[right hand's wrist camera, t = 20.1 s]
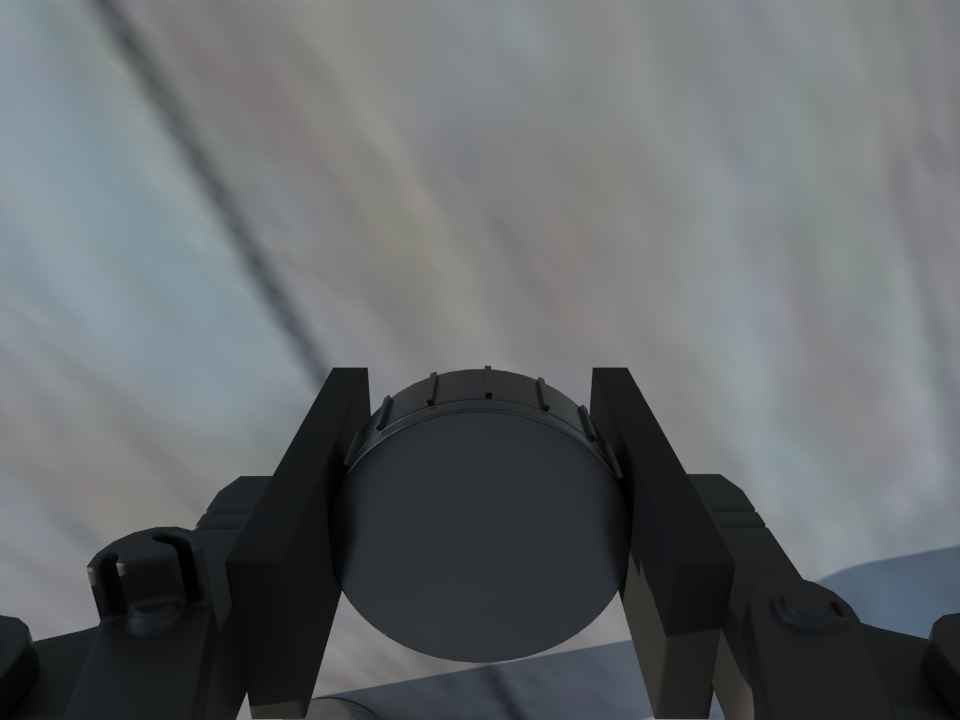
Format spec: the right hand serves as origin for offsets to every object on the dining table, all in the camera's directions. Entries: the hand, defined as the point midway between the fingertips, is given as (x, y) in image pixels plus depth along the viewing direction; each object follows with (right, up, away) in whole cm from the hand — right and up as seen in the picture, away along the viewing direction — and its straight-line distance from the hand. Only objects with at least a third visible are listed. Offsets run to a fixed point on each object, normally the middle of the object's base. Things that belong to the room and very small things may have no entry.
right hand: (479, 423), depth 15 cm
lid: (0, -2, -4) cm, 4 cm away
